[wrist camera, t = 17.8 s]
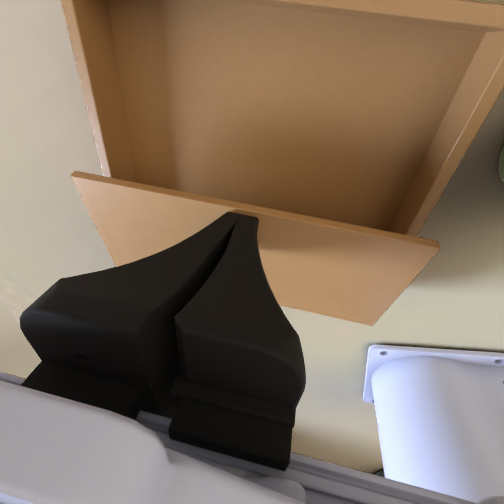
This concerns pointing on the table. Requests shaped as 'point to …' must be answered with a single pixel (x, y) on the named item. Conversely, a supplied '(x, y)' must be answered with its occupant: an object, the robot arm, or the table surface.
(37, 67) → the table surface
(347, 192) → the carton
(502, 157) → the pot
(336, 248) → the flap
